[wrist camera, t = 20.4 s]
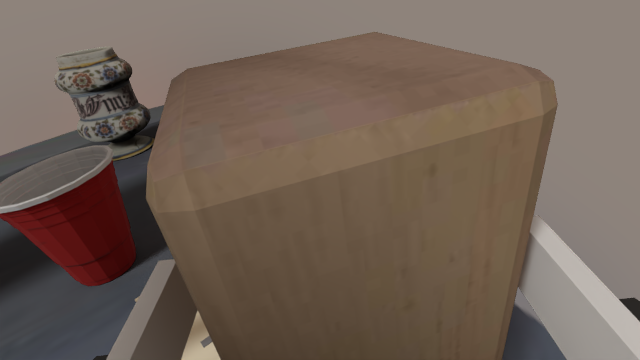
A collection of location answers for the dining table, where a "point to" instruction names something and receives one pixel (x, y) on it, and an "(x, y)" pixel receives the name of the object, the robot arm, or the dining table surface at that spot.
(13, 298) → the dining table surface
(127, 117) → the apothecary jar
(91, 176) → the plastic cup
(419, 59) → the wooden block
